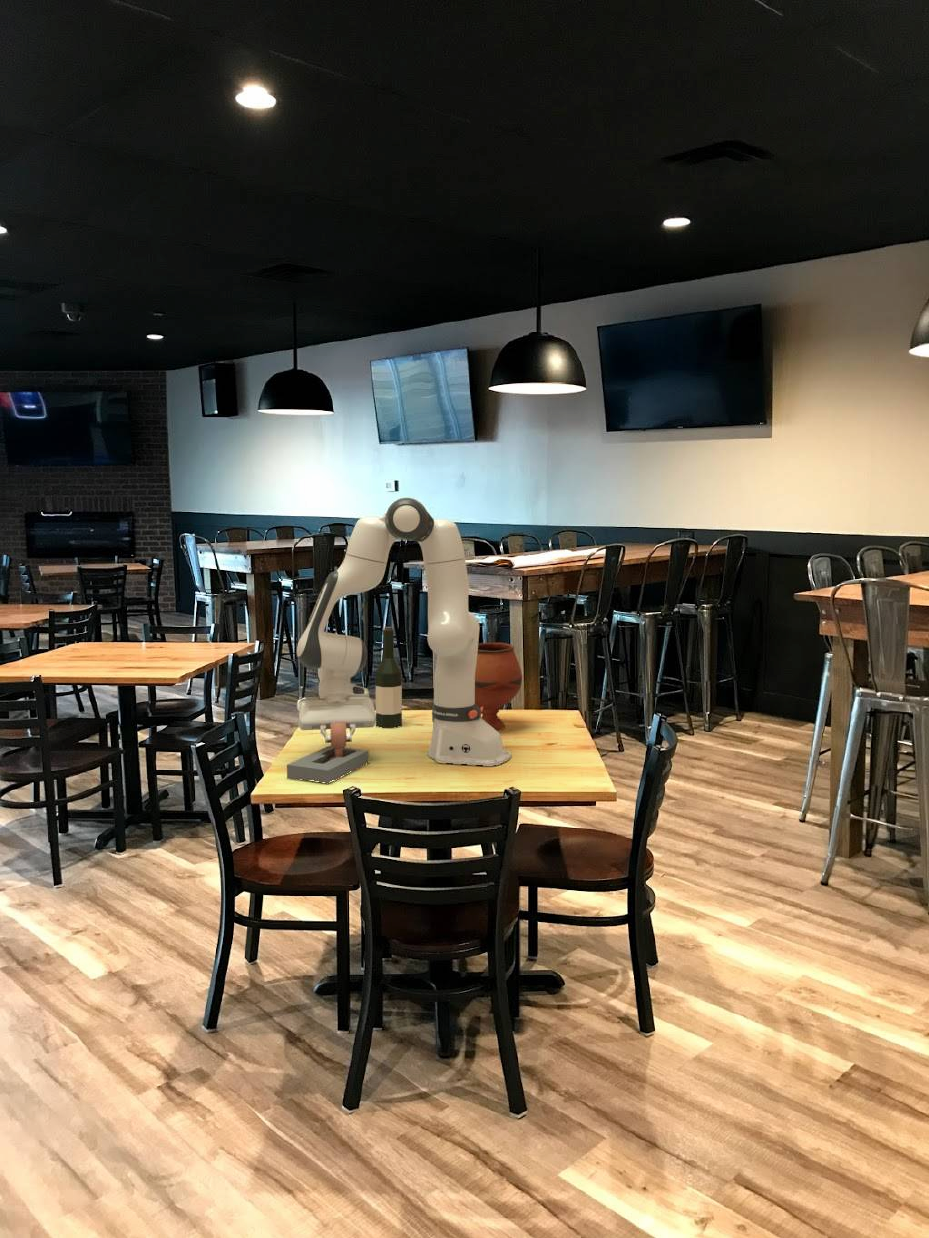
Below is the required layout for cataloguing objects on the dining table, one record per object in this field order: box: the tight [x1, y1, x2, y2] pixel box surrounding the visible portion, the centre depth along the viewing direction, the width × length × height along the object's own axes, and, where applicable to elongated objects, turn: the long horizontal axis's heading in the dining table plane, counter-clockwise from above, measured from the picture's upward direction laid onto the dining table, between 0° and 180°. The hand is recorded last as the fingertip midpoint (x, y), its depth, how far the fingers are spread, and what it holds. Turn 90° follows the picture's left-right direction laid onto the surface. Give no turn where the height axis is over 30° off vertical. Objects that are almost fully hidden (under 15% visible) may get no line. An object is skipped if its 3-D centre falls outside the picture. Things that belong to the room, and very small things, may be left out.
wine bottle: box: [374, 626, 403, 729], centre depth 304 cm, size 8×8×30 cm
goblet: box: [475, 642, 523, 731], centre depth 302 cm, size 19×19×25 cm
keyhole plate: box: [286, 745, 370, 783], centre depth 258 cm, size 20×12×4 cm, turn 156°
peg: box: [329, 722, 347, 761], centre depth 262 cm, size 5×5×11 cm
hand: (338, 741), depth 262 cm, fingers closed on peg, 4 cm apart
